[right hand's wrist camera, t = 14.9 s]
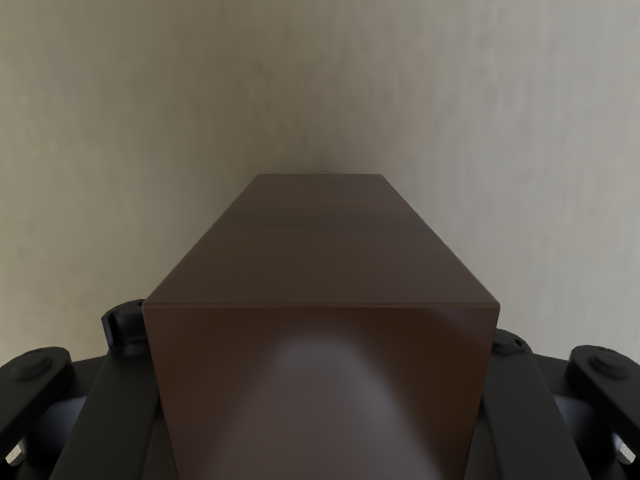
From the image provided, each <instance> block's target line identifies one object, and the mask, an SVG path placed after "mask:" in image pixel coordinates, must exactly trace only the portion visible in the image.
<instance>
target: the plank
mask: <svg viewBox="0 0 640 480" xmlns="http://www.w3.org/2000/svg"><path fill="white" fill-rule="evenodd" d="M499 312H500V303H499V302H498V301H497V300H496V299H495V298H494V297H493V296H492V295H491V293H490V292H489V291H488V290H487V289H486V288H485V287H484V286H483V285H482V284H481V283H480V282H479V280H478V279H477V278H476V277H475V276H474V275H473V274H472V273H471V272H470V271H469V270H468V268H467V267H466V266H465V265H464V264H463V263H462V262H461V261H460V260H459V259H458V258H457V256H456V255H455V254H454V253H453V252H452V251H451V250H450V249H449V248H448V247H447V246H446V245H445V243H444V242H443V241H442V240H441V239H440V238H439V237H438V236H437V235H436V234H435V233H434V231H433V230H432V229H431V228H430V227H429V226H428V225H427V224H426V223H425V222H424V221H423V219H422V218H421V217H420V216H419V215H418V214H417V213H416V212H415V211H414V210H413V209H412V207H411V206H410V205H409V204H408V203H407V202H406V201H405V200H404V199H403V198H402V197H401V196H400V194H399V193H398V192H397V191H396V190H395V189H394V188H393V187H392V186H391V185H390V184H389V182H388V181H387V180H386V179H385V178H384V177H383V176H382V175H381V174H259V175H257V177H256V178H255V179H254V180H253V181H252V182H251V183H250V184H249V185H248V187H247V188H246V189H245V190H244V191H243V192H242V193H241V194H240V195H239V197H238V198H237V199H236V200H235V201H234V202H233V203H232V204H231V205H230V207H229V208H228V209H227V210H226V211H225V212H224V213H223V214H222V215H221V217H220V218H219V219H218V220H217V221H216V222H215V223H214V224H213V226H212V227H211V228H210V229H209V230H208V231H207V232H206V233H205V234H204V236H203V237H202V238H201V239H200V240H199V241H198V242H197V243H196V244H195V246H194V247H193V248H192V249H191V250H190V251H189V252H188V253H187V254H186V256H185V257H184V258H183V259H182V260H181V261H180V262H179V263H178V264H177V266H176V267H175V268H174V269H173V270H172V271H171V272H170V273H169V274H168V276H167V277H166V278H165V279H164V280H163V281H162V282H161V283H160V284H159V286H158V287H157V288H156V289H155V290H154V291H153V292H152V293H151V294H150V296H149V297H148V298H147V299H146V300H145V301H144V302H143V303H142V313H143V318H144V322H145V327H146V332H147V337H148V341H149V346H150V351H151V356H152V360H153V365H154V370H155V375H156V380H157V384H158V389H159V394H160V399H161V403H162V408H163V413H164V418H165V423H166V427H167V432H168V437H169V442H170V446H171V451H172V456H173V461H174V466H175V470H176V475H177V480H464V476H465V471H466V467H467V462H468V457H469V453H470V448H471V443H472V438H473V434H474V429H475V424H476V420H477V415H478V410H479V406H480V401H481V396H482V392H483V387H484V382H485V378H486V373H487V368H488V364H489V359H490V354H491V349H492V345H493V340H494V335H495V331H496V326H497V321H498V317H499Z"/></svg>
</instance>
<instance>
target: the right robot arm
mask: <svg viewBox="0 0 640 480" xmlns="http://www.w3.org/2000/svg"><path fill="white" fill-rule="evenodd" d="M145 300H146V299H139V300H134V301H129V302H126V303H123V304H121V305H118V306H116V307H114V308H112V309H111V310H109V311H107V312H106V313H105V314H104V316H103V317H102V318H101V320H102V324H103V328H104V331H105V335H106V339H107V343H108V347H109V351H108V353H107V355H105V356H101V357H96V358H91V359H86V360H81V361H76V362H72V360H71V357H70V353H69V351H67V350H66V349H65V348H61V347H46V348H39V349H35V350H31V351H29V352H26V353H24V354H22V355H20V356H18V357H16V358H14V359H12V360H11V361H9V362H8V363H6V364H5V365H3V366H2V367H1V368H0V480H177V475H176V470H175V466H174V461H173V456H172V451H171V446H170V442H169V437H168V432H167V427H166V423H165V418H164V413H163V408H162V403H161V399H160V394H159V389H158V384H157V380H156V375H155V370H154V365H153V360H152V356H151V351H150V346H149V341H148V337H147V332H146V327H145V322H144V318H143V313H142V303H143V302H144V301H145ZM623 442H624V443H625V444H626V446H627V447H628V448H629V449H630V450H631V451H632V452H633V454H634V455H635V456H636V457H635V459H634V461H633V462H632V463H631V462H630V461H629V460H628V459H627V458H626V457H625V456H624V455H623V454H622V453H621V451H620V448H621V445H622V443H623ZM17 444H18V445H19V447H20V449H21V453H20V454H19V455H18V456H17V457H16V458H15V459H14V460H13V461H12V462H11V463H10V464H8V463H7V461H6V459H5V458H6V457H7V455H8V454H9V453H10V452H11V451H12V450H13V449H14V447H15V446H16V445H17ZM464 480H640V365H639V364H637V363H636V362H634V361H633V360H631V359H630V358H628V357H626V356H624V355H622V354H620V353H617V352H616V351H614V350H611V349H606V348H604V347H600V346H591V345H583V346H577V347H575V348H574V349H573V350H572V351H571V354H570V357H569V361H567V360H562V359H557V358H552V357H547V356H542V355H538V354H534V353H533V352H532V350H531V348H530V347H529V346H528V344H527V343H526V342H525V341H524V340H523V339H521V338H520V337H518V336H517V335H515V334H513V333H510V332H508V331H506V330H502V329H497V328H496V331H495V335H494V340H493V345H492V349H491V354H490V359H489V364H488V368H487V373H486V378H485V382H484V387H483V392H482V396H481V401H480V406H479V410H478V415H477V420H476V424H475V429H474V434H473V438H472V443H471V448H470V453H469V457H468V462H467V467H466V471H465V476H464Z"/></svg>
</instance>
